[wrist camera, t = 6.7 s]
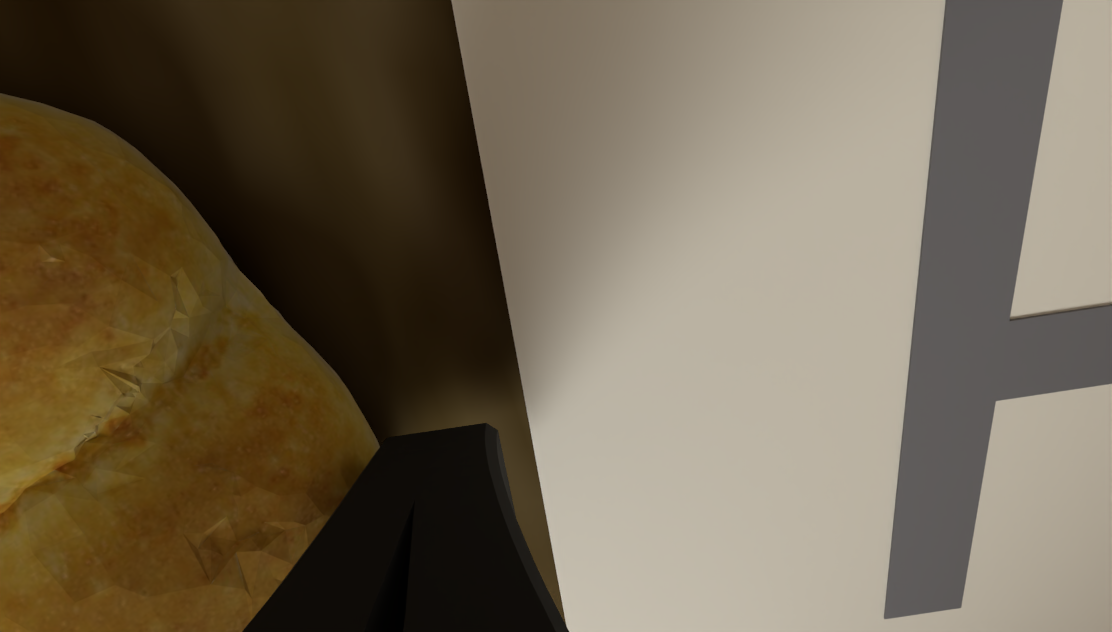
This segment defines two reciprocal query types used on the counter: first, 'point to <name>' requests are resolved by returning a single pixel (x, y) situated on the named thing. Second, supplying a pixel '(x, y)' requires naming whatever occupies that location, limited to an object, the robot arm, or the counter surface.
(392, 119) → the counter surface
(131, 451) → the bread roll
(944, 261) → the letter board
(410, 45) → the counter surface
